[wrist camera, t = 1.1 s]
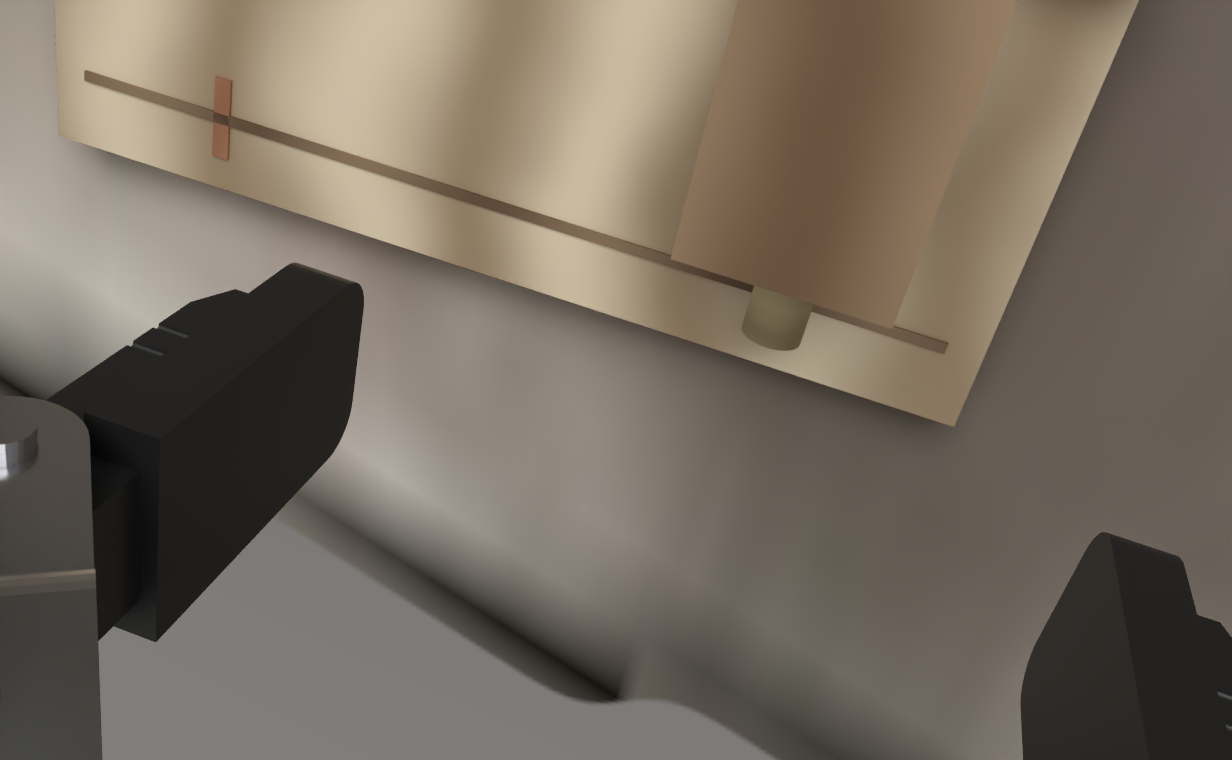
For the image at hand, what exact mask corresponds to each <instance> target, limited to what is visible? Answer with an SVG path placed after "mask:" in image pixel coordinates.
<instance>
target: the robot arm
mask: <svg viewBox="0 0 1232 760" xmlns="http://www.w3.org/2000/svg"><path fill="white" fill-rule="evenodd" d="M363 308H364V295H363V290H362V287H361V286H360V284H358V283H356V282H353V281H350V280H347V279H344V278H341V277H338V276H335V275H332V274H329V273H326V272H323V271H320V270H317V269H314V268H311V267H308V266H305V265H302V264H299V263H292V264H289V265H287V266H286V267H284V268H283V269H282V270H280V271H279V272H277V273H276V274H275V275H273V276H272V277H270V278H269V279H268V280H266V281H265V282H264V283H262V284H261V285H259V286H258V287H257V288H255V289H254V290H252V291H251V292H250V293H245V292H242V291H239V290H236V289H235V290H231V291H228V292H224V293H221V294H217V295H214V296H210V297H207V298H203V299H200V300H196V301H193V302H190V303H189V304H187V305H186V306H184V307H183V308H181V309H180V310H178V311H177V312H175V313H174V314H172V315H171V316H169V317H168V318H166V319H165V320H163V321H162V322H161V323H159V327H158V328H157V329H156V328H152V329H150V330H149V331H147V332H146V333H144V334H143V335H141V336H140V337H138V338H137V339H135V340H134V341H133V345H132V346H131V347H130V346H128V345H127V346H125V347H124V348H122V349H121V350H119V351H118V352H116V353H115V354H113V355H112V356H110V357H109V358H107V359H106V360H104V361H103V362H102V363H100V364H99V365H97V366H96V367H94V368H93V369H91V370H90V371H88V372H87V373H85V374H84V375H82V376H81V377H79V378H78V379H76V380H75V381H73V382H72V383H71V384H69V385H68V386H66V387H65V388H63V389H62V390H60V391H59V392H57V393H56V394H54V395H53V396H51V397H50V398H48V399H47V400H45V401H44V400H40V399H35V398H27V397H17V396H0V760H102V737H101V709H100V682H99V653H98V641H99V640H100V639H101V638H102V637H103V636H104V635H105V634H106V633H107V632H108V631H109V630H110V629H111V628H112V627H113V626H115V627H117V628H120V629H122V630H125V631H128V632H130V633H133V634H135V635H138V636H141V637H143V638H146V639H149V640H151V641H154V642H157V640H158V639H159V638H160V637H161V636H162V635H163V634H164V633H165V632H166V631H167V630H168V629H169V628H170V627H171V626H172V624H173V623H174V622H175V621H176V620H177V619H178V618H179V617H180V616H181V615H182V614H183V613H184V612H185V611H186V610H187V609H188V608H189V606H190V605H191V604H192V603H193V602H194V601H195V600H196V599H197V598H198V597H199V596H200V595H201V594H202V592H203V591H204V590H205V589H206V588H207V587H208V586H209V585H210V584H211V583H212V582H213V581H214V580H215V579H216V578H217V576H219V575H220V573H221V572H222V571H223V570H224V569H225V568H226V567H227V566H228V565H229V564H230V563H231V562H232V561H233V560H234V559H235V558H236V556H237V555H238V554H239V553H240V552H241V551H242V550H243V549H244V548H245V547H246V546H247V545H248V544H249V543H250V542H251V540H252V539H253V538H254V537H255V536H256V535H257V534H258V533H259V532H260V531H261V530H262V529H263V528H264V527H265V526H266V525H267V523H268V522H269V521H270V520H271V519H272V518H273V517H274V516H275V515H276V514H277V513H278V512H279V511H280V510H281V509H282V508H283V506H284V505H285V504H286V503H287V502H288V501H289V500H290V499H291V498H292V497H293V496H294V495H295V494H296V493H297V492H298V490H299V489H300V488H301V487H302V486H303V485H304V484H305V483H306V482H307V481H308V480H309V479H310V478H311V477H312V476H313V475H314V473H315V472H316V471H317V470H318V469H319V468H320V467H321V466H322V465H323V464H324V463H325V462H326V461H327V460H328V458H329V457H330V456H331V455H332V453H333V452H334V450H335V449H336V447H337V445H338V444H339V442H340V440H341V438H342V436H343V433H344V431H345V428H346V426H347V423H348V419H349V416H350V412H351V407H352V401H353V392H354V384H355V376H356V367H357V359H358V350H359V342H360V333H361V325H362V317H363ZM1021 723H1022V743H1023V760H1232V637H1231V636H1230V635H1229V633H1228V632H1227V631H1226V630H1225V628H1224V627H1223V626H1222V624H1221V623H1220V622H1217V621H1214V620H1211V619H1208V618H1205V617H1202V616H1199V615H1197V613H1196V609H1195V605H1194V601H1193V597H1192V594H1191V590H1190V586H1189V582H1188V578H1187V575H1186V571H1185V567H1184V564H1183V561H1182V560H1181V558H1180V557H1178V556H1176V555H1173V554H1170V553H1167V552H1163V551H1160V550H1157V549H1154V548H1151V547H1148V546H1145V545H1142V544H1139V543H1136V542H1133V541H1130V540H1127V539H1124V538H1121V537H1118V536H1115V535H1112V534H1109V533H1106V532H1102V533H1100V534H1098V535H1097V536H1096V537H1095V538H1094V539H1093V540H1092V542H1091V543H1090V545H1089V546H1088V548H1087V549H1086V551H1085V553H1084V555H1083V557H1082V558H1081V560H1080V562H1079V564H1078V566H1077V568H1076V570H1075V571H1074V573H1073V575H1072V577H1071V579H1070V581H1069V583H1068V584H1067V586H1066V588H1065V590H1064V592H1063V594H1062V596H1061V597H1060V599H1059V601H1058V603H1057V605H1056V607H1055V609H1054V610H1053V612H1052V614H1051V616H1050V618H1049V620H1048V622H1047V623H1046V625H1045V627H1044V629H1043V631H1042V633H1041V635H1040V636H1039V638H1038V640H1037V642H1036V644H1035V646H1034V649H1033V651H1032V653H1031V656H1030V659H1029V661H1028V665H1027V668H1026V672H1025V676H1024V680H1023V685H1022V692H1021Z"/></svg>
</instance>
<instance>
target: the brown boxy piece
mask: <svg viewBox="0 0 1232 760" xmlns="http://www.w3.org/2000/svg"><path fill="white" fill-rule="evenodd" d="M1016 4H1017V0H738V3H737V7H736V11H735V14H734V18H733V22H732V26H731V30H730V34H729V37H728V41H727V45H726V49H725V53H724V56H723V60H722V64H721V68H720V72H719V76H718V79H717V83H716V87H715V91H714V95H713V98H712V102H711V106H710V110H709V114H708V118H707V121H706V125H705V129H704V133H703V137H702V140H701V144H700V148H699V152H698V156H697V160H696V163H695V167H694V171H693V175H692V179H691V183H690V186H689V190H688V194H687V198H686V202H685V205H684V209H683V213H682V217H681V221H680V225H679V228H678V232H677V236H676V240H675V244H674V247H673V251H672V255H671V259H672V260H675V261H678V262H681V263H684V264H688V265H691V266H694V267H697V268H700V269H703V270H707V271H710V272H713V273H716V274H719V275H722V276H726V277H729V278H732V279H735V280H738V281H741V282H744V283H748V284H751V285H754V288H753V291H752V294H751V298H750V301H749V304H748V307H747V311H746V314H745V317H744V320H743V324H742V332H743V333H744V335H745V336H746V337H747V338H748V339H750V340H751V341H753V342H754V343H756V344H758V345H760V346H763V347H766V348H769V349H773V350H779V351H789V350H794V349H796V348H798V347H799V346H800V344H801V341H802V338H803V335H804V332H805V329H806V326H807V323H808V320H809V317H810V314H811V311H812V308H813V305H817V306H820V307H823V308H827V309H830V310H833V311H836V312H839V313H842V314H845V315H849V316H852V317H855V318H858V319H861V320H864V321H868V322H871V323H874V324H877V325H880V326H883V327H887V328H890V329H893V326H894V323H895V321H896V318H897V315H898V313H899V310H900V308H901V305H902V302H903V300H904V297H905V295H906V292H907V289H908V287H909V284H910V281H911V279H912V276H913V274H914V271H915V268H916V266H917V263H918V260H919V258H920V255H921V253H922V250H923V247H924V245H925V242H926V239H927V237H928V234H929V232H930V229H931V226H932V224H933V221H934V219H935V216H936V213H937V211H938V208H939V205H940V203H941V200H942V198H943V195H944V192H945V190H946V187H947V184H948V182H949V179H950V177H951V174H952V171H953V169H954V166H955V163H956V161H957V158H958V156H959V153H960V150H961V148H962V145H963V143H964V140H965V137H966V135H967V132H968V129H969V127H970V124H971V122H972V119H973V116H974V114H975V111H976V108H977V106H978V103H979V101H980V98H981V95H982V93H983V90H984V87H985V85H986V82H987V80H988V77H989V74H990V72H991V69H992V67H993V64H994V61H995V59H996V56H997V53H998V51H999V48H1000V46H1001V43H1002V40H1003V38H1004V35H1005V32H1006V30H1007V27H1008V25H1009V22H1010V19H1011V17H1012V14H1013V11H1014V9H1015V6H1016Z"/></svg>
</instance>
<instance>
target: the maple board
mask: <svg viewBox="0 0 1232 760" xmlns="http://www.w3.org/2000/svg"><path fill="white" fill-rule="evenodd" d="M1138 1H1139V0H1017V4H1016V6H1015V9H1014V11H1013V14H1012V17H1011V19H1010V22H1009V25H1008V27H1007V30H1006V32H1005V35H1004V38H1003V40H1002V43H1001V46H1000V48H999V51H998V53H997V56H996V59H995V61H994V64H993V67H992V69H991V72H990V74H989V77H988V80H987V82H986V85H985V87H984V90H983V93H982V95H981V98H980V101H979V103H978V106H977V108H976V111H975V114H974V116H973V119H972V122H971V124H970V127H969V129H968V132H967V135H966V137H965V140H964V143H963V145H962V148H961V150H960V153H959V156H958V158H957V161H956V163H955V166H954V169H953V171H952V174H951V177H950V179H949V182H948V184H947V187H946V190H945V192H944V195H943V198H942V200H941V203H940V205H939V208H938V211H937V213H936V216H935V219H934V221H933V224H932V226H931V229H930V232H929V234H928V237H927V239H926V242H925V245H924V247H923V250H922V253H921V255H920V258H919V260H918V263H917V266H916V268H915V271H914V274H913V276H912V279H911V281H910V284H909V287H908V289H907V292H906V295H905V297H904V300H903V302H902V305H901V308H900V310H899V313H898V315H897V318H896V321H895V323H894V326H893V329H890V328H887V327H883V326H880V325H877V324H874V323H871V322H868V321H864V320H861V319H858V318H855V317H852V316H849V315H845V314H842V313H839V312H836V311H833V310H830V309H827V308H823V307H820V306H817V305H813V308H812V311H811V314H810V317H809V320H808V323H807V326H806V329H805V332H804V335H803V338H802V341H801V344H800V346H799V347H798V348H796V349H794V350H789V351H779V350H773V349H769V348H766V347H763V346H760V345H758V344H756V343H754V342H753V341H751V340H750V339H748V338H747V337H746V336H745V335H744V333H743V332H742V324H743V320H744V317H745V314H746V311H747V307H748V304H749V301H750V298H751V294H752V291H753V288H754V285H751V284H748V283H744V282H741V281H738V280H735V279H732V278H729V277H726V276H722V275H719V274H716V273H713V272H710V271H707V270H703V269H700V268H697V267H694V266H691V265H688V264H684V263H681V262H678V261H675V260H672V259H671V255H672V251H673V247H674V244H675V240H676V236H677V232H678V228H679V225H680V221H681V217H682V213H683V209H684V205H685V202H686V198H687V194H688V190H689V186H690V183H691V179H692V175H693V171H694V167H695V163H696V160H697V156H698V152H699V148H700V144H701V140H702V137H703V133H704V129H705V125H706V121H707V118H708V114H709V110H710V106H711V102H712V98H713V95H714V91H715V87H716V83H717V79H718V76H719V72H720V68H721V64H722V60H723V56H724V53H725V49H726V45H727V41H728V37H729V34H730V30H731V26H732V22H733V18H734V14H735V11H736V7H737V3H738V0H55V26H56V59H57V91H58V123H59V136H62V137H65V138H68V139H71V140H74V141H77V142H80V143H83V144H86V145H89V146H92V147H95V148H99V149H102V150H105V151H108V152H111V153H114V154H117V155H120V156H123V157H126V158H129V159H132V160H135V161H138V162H142V163H145V164H148V165H151V166H154V167H157V168H160V169H163V170H166V171H169V172H172V173H175V174H178V175H181V176H185V177H188V178H191V179H194V180H197V181H200V182H203V183H206V184H209V185H212V186H215V187H218V188H221V189H224V190H228V191H231V192H234V193H237V194H240V195H243V196H246V197H249V198H252V199H255V200H258V201H261V202H264V203H267V204H271V205H274V206H277V207H280V208H283V209H286V210H289V211H292V212H295V213H298V214H301V215H304V216H307V217H310V218H314V219H317V220H320V221H323V222H326V223H329V224H332V225H335V226H338V227H341V228H344V229H347V230H350V231H353V232H357V233H360V234H363V235H366V236H369V237H372V238H375V239H378V240H381V241H384V242H387V243H390V244H393V245H396V246H400V247H403V248H406V249H409V250H412V251H415V252H418V253H421V254H424V255H427V256H430V257H433V258H436V259H439V260H442V261H446V262H449V263H452V264H455V265H458V266H461V267H464V268H467V269H470V270H473V271H476V272H479V273H482V274H485V275H489V276H492V277H495V278H498V279H501V280H504V281H507V282H510V283H513V284H516V285H519V286H522V287H525V288H528V289H532V290H535V291H538V292H541V293H544V294H547V295H550V296H553V297H556V298H559V299H562V300H565V301H568V302H571V303H575V304H578V305H581V306H584V307H587V308H590V309H593V310H596V311H599V312H602V313H605V314H608V315H611V316H614V317H618V318H621V319H624V320H627V321H630V322H633V323H636V324H639V325H642V326H645V327H648V328H651V329H654V330H657V331H661V332H664V333H667V334H670V335H673V336H676V337H679V338H682V339H685V340H688V341H691V342H694V343H697V344H700V345H704V346H707V347H710V348H713V349H716V350H719V351H722V352H725V353H728V354H731V355H734V356H737V357H740V358H743V359H747V360H750V361H753V362H756V363H759V364H762V365H765V366H768V367H771V368H774V369H777V370H780V371H783V372H786V373H790V374H793V375H796V376H799V377H802V378H805V379H808V380H811V381H814V382H817V383H820V384H823V385H826V386H829V387H833V388H836V389H839V390H842V391H845V392H848V393H851V394H854V395H857V396H860V397H863V398H866V399H869V400H872V401H875V402H879V403H882V404H885V405H888V406H891V407H894V408H897V409H900V410H903V411H906V412H909V413H912V414H915V415H918V416H922V417H925V418H928V419H931V420H934V421H937V422H940V423H943V424H946V425H949V426H952V427H954V426H955V423H956V421H957V419H958V417H959V414H960V412H961V410H962V407H963V405H964V403H965V400H966V398H967V396H968V393H969V391H970V389H971V387H972V384H973V382H974V380H975V377H976V375H977V373H978V370H979V368H980V366H981V363H982V361H983V359H984V357H985V354H986V352H987V350H988V347H989V345H990V343H991V340H992V338H993V336H994V333H995V331H996V329H997V327H998V324H999V322H1000V320H1001V317H1002V315H1003V313H1004V310H1005V308H1006V306H1007V304H1008V301H1009V299H1010V297H1011V294H1012V292H1013V290H1014V287H1015V285H1016V283H1017V280H1018V278H1019V276H1020V274H1021V271H1022V269H1023V267H1024V264H1025V262H1026V260H1027V257H1028V255H1029V253H1030V250H1031V248H1032V246H1033V244H1034V241H1035V239H1036V237H1037V234H1038V232H1039V230H1040V227H1041V225H1042V223H1043V220H1044V218H1045V216H1046V214H1047V211H1048V209H1049V207H1050V204H1051V202H1052V200H1053V197H1054V195H1055V193H1056V190H1057V188H1058V186H1059V184H1060V181H1061V179H1062V177H1063V174H1064V172H1065V170H1066V167H1067V165H1068V163H1069V160H1070V158H1071V156H1072V154H1073V151H1074V149H1075V147H1076V144H1077V142H1078V140H1079V137H1080V135H1081V133H1082V130H1083V128H1084V126H1085V124H1086V121H1087V119H1088V117H1089V114H1090V112H1091V110H1092V107H1093V105H1094V103H1095V101H1096V98H1097V96H1098V94H1099V91H1100V89H1101V87H1102V84H1103V82H1104V80H1105V77H1106V75H1107V73H1108V71H1109V68H1110V66H1111V64H1112V61H1113V59H1114V57H1115V54H1116V52H1117V50H1118V47H1119V45H1120V43H1121V41H1122V38H1123V36H1124V34H1125V31H1126V29H1127V27H1128V24H1129V22H1130V20H1131V17H1132V15H1133V13H1134V11H1135V8H1136V6H1137V4H1138Z"/></svg>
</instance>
